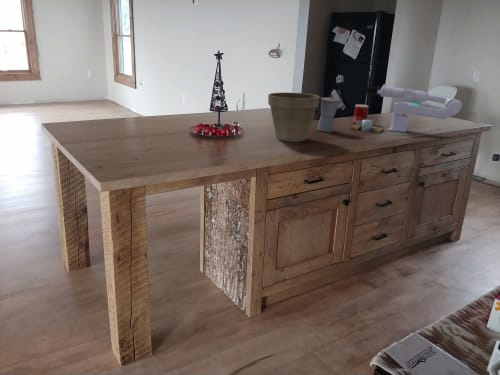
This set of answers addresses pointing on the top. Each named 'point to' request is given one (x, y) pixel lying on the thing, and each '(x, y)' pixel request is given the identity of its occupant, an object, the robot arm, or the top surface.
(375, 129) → the brown wooden panels
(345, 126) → the top surface
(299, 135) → the plant pot
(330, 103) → the moka pot
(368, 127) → the grey round flask
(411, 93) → the robot arm
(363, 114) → the canned food
